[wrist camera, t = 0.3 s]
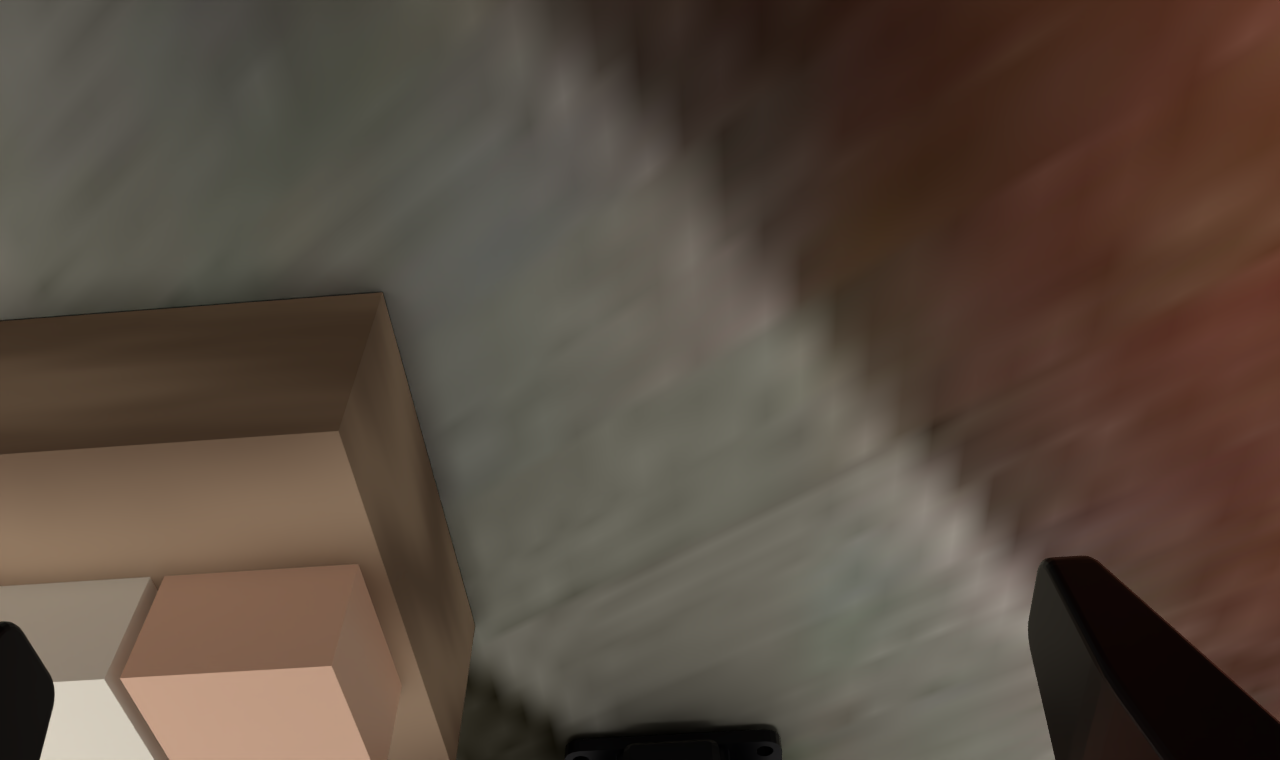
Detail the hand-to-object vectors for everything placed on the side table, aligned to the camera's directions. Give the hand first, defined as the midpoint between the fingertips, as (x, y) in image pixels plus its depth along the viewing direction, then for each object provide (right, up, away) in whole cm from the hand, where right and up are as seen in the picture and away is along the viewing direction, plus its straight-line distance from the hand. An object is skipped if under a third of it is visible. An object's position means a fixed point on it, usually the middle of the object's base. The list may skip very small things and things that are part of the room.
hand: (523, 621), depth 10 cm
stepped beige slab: (-8, -1, +18) cm, 20 cm away
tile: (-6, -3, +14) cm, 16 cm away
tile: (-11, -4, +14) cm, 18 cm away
